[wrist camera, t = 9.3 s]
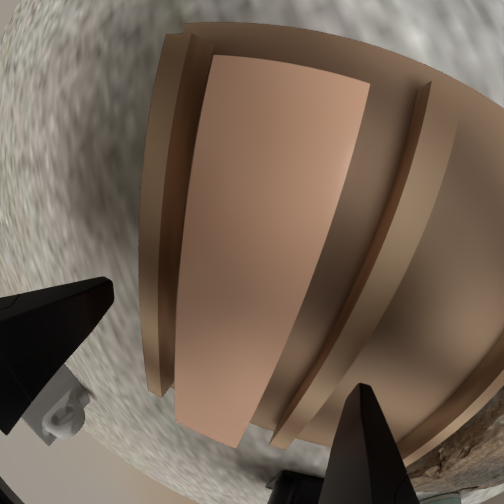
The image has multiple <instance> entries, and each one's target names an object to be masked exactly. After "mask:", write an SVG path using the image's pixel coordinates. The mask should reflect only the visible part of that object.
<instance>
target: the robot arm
mask: <svg viewBox="0 0 504 504" xmlns="http://www.w3.org/2000/svg"><path fill="white" fill-rule="evenodd" d="M113 302H114V289H113V282H112V281H111V280H110V279H108V278H106V277H103V276H102V277H97V278H92V279H88V280H83V281H78V282H73V283H69V284H64V285H59V286H54V287H50V288H45V289H40V290H35V291H31V292H26V293H22V294H17V295H12V296H7V297H1V298H0V430H1V431H2V432H3V433H4V434H5V435H8V434H9V433H10V431H11V430H12V428H13V427H14V426H15V424H16V423H17V422H18V420H19V419H20V418H21V416H22V415H23V414H24V412H25V411H26V410H27V408H28V407H29V406H30V405H31V403H32V402H33V401H34V399H35V398H36V397H37V395H38V394H39V393H40V392H41V390H42V389H43V388H44V387H45V386H46V384H47V383H48V382H49V381H50V379H51V378H52V377H53V376H54V375H55V373H56V372H57V371H58V370H59V369H60V368H61V366H62V365H63V364H64V363H65V362H66V361H67V359H68V358H69V357H70V356H71V355H72V354H73V352H74V351H75V350H76V349H77V348H78V347H79V346H80V344H81V343H82V342H83V341H84V340H85V339H86V338H87V337H88V336H89V334H90V333H91V332H92V331H93V329H94V328H95V327H96V325H97V324H98V323H99V321H100V320H101V319H102V317H103V316H104V315H105V313H106V312H107V311H108V309H109V308H110V307H111V305H112V304H113ZM266 488H268V489H272V493H271V495H270V498H269V501H268V503H267V504H420V502H419V500H418V497H417V495H416V493H415V490H414V488H413V485H412V483H411V480H410V477H409V475H408V474H407V470H406V467H405V465H404V462H403V460H402V457H401V455H400V452H399V450H398V447H397V445H396V442H395V440H394V437H393V435H392V432H391V430H390V428H389V425H388V423H387V421H386V418H385V416H384V414H383V411H382V409H381V407H380V404H379V402H378V400H377V398H376V395H375V393H374V391H373V389H372V387H371V386H370V385H368V384H364V383H358V384H357V385H356V386H355V388H354V389H353V390H352V391H351V393H350V394H349V395H348V396H347V398H346V400H345V403H344V407H343V410H342V414H341V417H340V420H339V424H338V427H337V430H336V433H335V437H334V440H333V444H332V448H331V453H330V458H329V462H328V467H327V471H326V475H325V479H324V480H320V479H316V478H311V477H307V476H303V475H299V474H295V473H291V472H287V471H282V472H280V473H279V474H278V475H277V476H276V477H274V478H273V479H272V480H271V481H269V482H268V483H267V484H266ZM0 504H24V503H23V502H22V501H21V499H20V498H19V497H18V496H17V495H16V494H15V493H14V492H13V491H12V490H11V489H10V488H9V486H8V485H7V484H6V483H5V482H4V480H3V479H2V478H1V477H0Z"/></svg>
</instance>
